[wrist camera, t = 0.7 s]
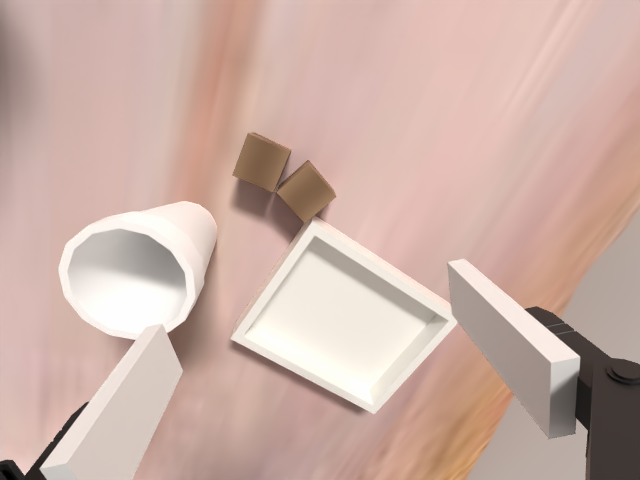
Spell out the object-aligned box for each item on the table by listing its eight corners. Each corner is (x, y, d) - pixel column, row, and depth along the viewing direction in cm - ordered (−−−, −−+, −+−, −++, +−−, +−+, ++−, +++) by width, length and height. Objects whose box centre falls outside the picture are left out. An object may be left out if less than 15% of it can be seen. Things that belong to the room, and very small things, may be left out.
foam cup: (211, 283, 39) (168, 357, 26) (131, 248, 37) (45, 311, 25) (245, 210, 36) (214, 255, 24) (161, 170, 34) (80, 196, 22)
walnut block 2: (279, 185, 35) (276, 192, 32) (308, 159, 35) (308, 164, 31) (304, 213, 36) (304, 223, 33) (332, 188, 36) (336, 196, 32)
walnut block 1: (240, 169, 35) (232, 175, 31) (254, 132, 34) (247, 133, 30) (276, 185, 35) (272, 192, 32) (291, 149, 34) (289, 152, 30)
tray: (236, 321, 40) (230, 338, 37) (311, 212, 36) (312, 221, 33) (369, 392, 45) (374, 414, 41) (448, 302, 41) (461, 318, 37)
